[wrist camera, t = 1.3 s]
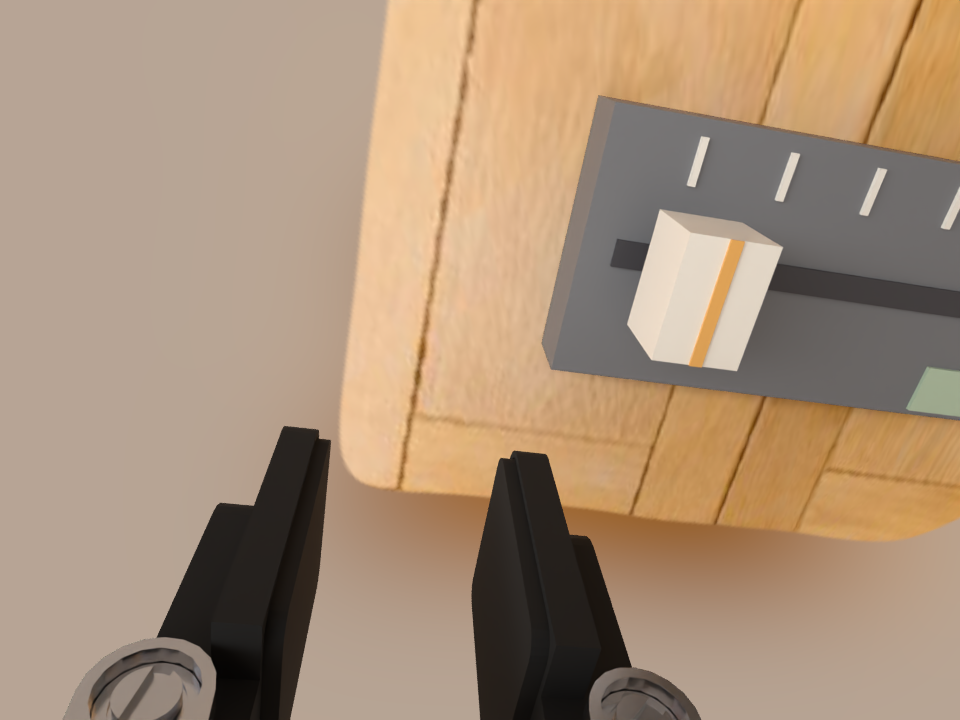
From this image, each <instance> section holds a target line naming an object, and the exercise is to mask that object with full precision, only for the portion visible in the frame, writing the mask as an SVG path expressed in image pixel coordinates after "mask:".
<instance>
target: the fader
mask: <svg viewBox="0 0 960 720" xmlns="http://www.w3.org/2000/svg"><path fill="white" fill-rule="evenodd" d="M782 249H783V247H782V246H780V245H779V244H777V243H775V242H774V241H772V240H770V239H769V238H767V237H765V236H764V235H762V234H760V233H759V232H757V231H755V230H754V229H752V228H751V227H749V226H747V225H746V224H744V223H742V222H736V221H730V220H724V219H718V218H712V217H705V216H699V215H693V214H687V213H681V212H674V211H668V210H662V209H660V211H659V214H658V218H657V221H656V225H655V228H654V232H653V235H652V239H651V242H650V246H649V249H648V253H647V256H646V260H645V263H644V267H643V270H642V274H641V277H640V281H639V284H638V288H637V291H636V295H635V298H634V302H633V305H632V309H631V312H630V316H629V319H628V323H627V325H628V326H629V328H630V329H631V331H632V332H633V334H634V335H635V337H636V338H637V340H638V341H639V343H640V344H641V346H642V347H643V349H644V350H645V351H646V353H647V354H648V356H649V357H650V359H651V360H655V361H662V362H670V363H678V364H685V365H689V366H693V367H701V368H702V367H709V368H716V369H724V370H732V371H737V370H738V367H739V364H740V362H741V359H742V356H743V354H744V351H745V348H746V345H747V343H748V340H749V337H750V335H751V332H752V329H753V327H754V324H755V321H756V319H757V316H758V313H759V311H760V308H761V305H762V303H763V300H764V297H765V295H766V292H767V289H768V286H769V284H770V281H771V278H772V276H773V273H774V270H775V268H776V265H777V262H778V260H779V257H780V254H781V252H782Z"/></svg>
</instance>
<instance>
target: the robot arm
mask: <svg viewBox="0 0 960 720" xmlns="http://www.w3.org/2000/svg"><path fill="white" fill-rule="evenodd" d="M330 445H331V441H330V440H326V439H319V430H316V429H307V428H298V427H288V426H284V427H283V429H282V431H281V434H280V437H279V439H278V442H277V445H276V448H275V450H274V453H273V456H272V458H271V461H270V464H269V466H268V469H267V472H266V475H265V477H264V480H263V483H262V485H261V488H260V491H259V494H258V496H257V499H256V502H255V505H254V506H249V505H238V504H227V503H220V504H218V505H217V506H216V508H215V510H214V512H213V514H212V516H211V518H210V520H209V523H208V525H207V527H206V529H205V531H204V534H203V536H202V538H201V540H200V543H199V545H198V547H197V549H196V551H195V554H194V556H193V558H192V560H191V562H190V565H189V567H188V569H187V571H186V574H185V576H184V578H183V580H182V583H181V585H180V587H179V589H178V592H177V594H176V596H175V598H174V600H173V602H172V605H171V607H170V609H169V611H168V613H167V616H166V618H165V620H164V622H163V625H162V627H161V629H160V631H159V633H158V636H157V638H152V639H144V640H141V641H138V642H135V643H131V644H129V645H125V646H123V647H121V648H119V649H117V650H116V651H114V652H112V653H111V654H109V655H107V656H105V657H104V658H102V659H101V660H100V661H99V662H98V663H97V664H96V665H95V666H94V667H93V668H92V669H91V670H89V671H88V672H87V673H86V675H85V677H84V678H83V679H82V681H81V683H80V684H79V686H78V687H77V689H76V691H75V693H74V695H73V697H72V699H71V702H70V704H69V706H68V709H67V711H66V713H65V715H64V718H63V720H290V717H291V711H292V707H293V702H294V697H295V692H296V687H297V682H298V678H299V672H300V668H301V663H302V657H303V653H304V648H305V643H306V638H307V633H308V628H309V623H310V618H311V613H312V609H313V603H314V599H315V594H316V589H317V582H318V576H319V569H320V558H321V547H322V536H323V524H324V514H325V502H326V492H327V480H328V469H329V458H330V447H331V446H330ZM472 612H473V613H472V614H473V627H474V641H475V653H476V667H477V681H478V694H479V708H480V720H701V718H700V716H699V714H698V712H697V710H696V708H695V706H694V705H693V704H692V703H691V702H690V700H689V699H688V698H687V696H686V695H685V694H684V693H683V692H682V691H681V690H679V689H678V688H677V687H676V686H675V685H673V684H672V683H671V682H669V681H668V680H666V679H664V678H662V677H661V676H659V675H657V674H655V673H653V672H650V671H646V670H642V669H638V668H632V666H631V663H630V660H629V657H628V654H627V651H626V647H625V644H624V641H623V638H622V635H621V632H620V629H619V625H618V622H617V620H616V616H615V613H614V610H613V607H612V603H611V600H610V597H609V594H608V591H607V588H606V585H605V582H604V579H603V575H602V573H601V569H600V566H599V563H598V560H597V556H596V553H595V550H594V547H593V545H592V543H591V541H590V539H589V538H588V537H587V536H578V535H570V534H569V531H568V527H567V524H566V520H565V517H564V513H563V509H562V506H561V502H560V499H559V495H558V492H557V488H556V484H555V481H554V477H553V474H552V470H551V467H550V463H549V459H548V457H547V455H546V454H540V453H530V452H521V451H513V452H512V455H511V457H510V459H506V458H501V459H500V460H499V463H498V467H497V471H496V476H495V481H494V485H493V490H492V494H491V499H490V504H489V508H488V513H487V518H486V522H485V526H484V531H483V536H482V540H481V545H480V550H479V554H478V559H477V564H476V568H475V573H474V577H473V583H472Z"/></svg>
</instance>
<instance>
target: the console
mask: <svg viewBox="0 0 960 720" xmlns="http://www.w3.org/2000/svg"><path fill="white" fill-rule="evenodd" d="M660 209H662V210H668V211H674V212H681V213H687V214H693V215H699V216H705V217H712V218H718V219H724V220H730V221H736V222H742V223H744V224H746V225H747V226H749V227H751V228H752V229H754V230H755V231H757V232H759V233H760V234H762V235H764V236H765V237H767V238H769V239H770V240H772V241H774V242H775V243H777V244H779V245H780V246H782V247H783V249H782V252H781V254H780V257H779V260H778V262H777V265H776V268H775V270H774V273H773V276H772V278H771V281H770V284H769V286H768V289H767V292H766V295H765V297H764V300H763V303H762V305H761V308H760V311H759V313H758V316H757V319H756V321H755V324H754V327H753V329H752V332H751V335H750V337H749V340H748V343H747V345H746V348H745V351H744V354H743V356H742V359H741V362H740V364H739V367H738V370H737V371H732V370H724V369H716V368H709V367H702V368H701V367H693V366H689V365H685V364H678V363H670V362H662V361H655V360H651V359H650V357H649V356H648V354H647V353H646V351H645V350H644V349H643V347H642V346H641V344H640V343H639V341H638V340H637V338H636V337H635V335H634V334H633V332H632V331H631V329H630V328H629V326H628V325H627V323H628V319H629V316H630V312H631V309H632V305H633V302H634V298H635V295H636V291H637V288H638V284H639V281H640V277H641V274H642V270H643V267H644V263H645V260H646V256H647V253H648V249H649V246H650V242H651V239H652V235H653V232H654V228H655V225H656V221H657V218H658V214H659V211H660ZM542 346H543V348H544V351H545V354H546V357H547V360H548V362H549V365H550V368H551V369H552V370H560V371H568V372H576V373H584V374H592V375H600V376H608V377H616V378H624V379H632V380H640V381H648V382H656V383H664V384H672V385H680V386H688V387H696V388H704V389H712V390H720V391H728V392H736V393H744V394H752V395H760V396H768V397H776V398H784V399H792V400H800V401H808V402H816V403H824V404H832V405H840V406H848V407H856V408H864V409H872V410H880V411H888V412H896V413H904V414H912V415H920V416H928V417H936V418H944V419H952V420H960V161H954V160H949V159H943V158H938V157H932V156H927V155H921V154H916V153H910V152H905V151H899V150H894V149H889V148H883V147H878V146H872V145H867V144H861V143H856V142H850V141H845V140H839V139H834V138H828V137H823V136H818V135H812V134H807V133H801V132H796V131H790V130H785V129H779V128H774V127H768V126H763V125H758V124H752V123H747V122H741V121H736V120H730V119H725V118H719V117H714V116H708V115H703V114H697V113H692V112H687V111H681V110H676V109H670V108H665V107H659V106H654V105H648V104H643V103H637V102H632V101H627V100H621V99H616V98H610V97H605V96H599V95H598V100H597V104H596V109H595V113H594V117H593V122H592V126H591V130H590V135H589V139H588V143H587V148H586V152H585V156H584V161H583V165H582V169H581V174H580V178H579V182H578V187H577V191H576V195H575V200H574V204H573V209H572V213H571V217H570V222H569V226H568V230H567V235H566V239H565V243H564V248H563V252H562V256H561V261H560V265H559V269H558V274H557V278H556V282H555V287H554V291H553V295H552V300H551V304H550V309H549V313H548V317H547V322H546V326H545V330H544V335H543V339H542Z"/></svg>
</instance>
